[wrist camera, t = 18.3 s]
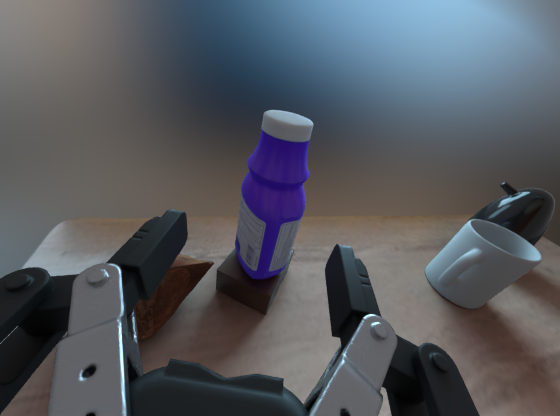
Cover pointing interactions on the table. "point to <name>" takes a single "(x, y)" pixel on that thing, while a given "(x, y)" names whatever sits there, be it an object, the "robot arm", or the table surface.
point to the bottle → (273, 194)
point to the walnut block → (248, 284)
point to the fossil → (169, 294)
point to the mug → (480, 263)
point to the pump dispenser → (521, 212)
